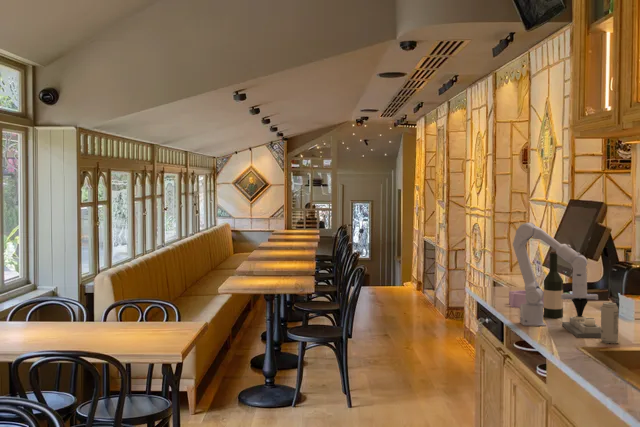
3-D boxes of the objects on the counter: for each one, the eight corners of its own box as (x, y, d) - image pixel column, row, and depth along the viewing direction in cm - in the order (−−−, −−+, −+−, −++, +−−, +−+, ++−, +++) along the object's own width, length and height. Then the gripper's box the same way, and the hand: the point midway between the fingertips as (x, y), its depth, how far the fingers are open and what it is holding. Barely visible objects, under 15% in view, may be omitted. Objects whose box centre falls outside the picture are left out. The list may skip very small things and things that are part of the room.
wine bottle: (564, 318, 301) (564, 252, 299) (545, 318, 302) (545, 252, 301) (561, 315, 309) (561, 250, 307) (542, 314, 310) (542, 250, 309)
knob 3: (586, 326, 266) (586, 319, 266) (583, 323, 270) (583, 317, 270) (596, 326, 266) (596, 319, 266) (593, 323, 270) (593, 317, 270)
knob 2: (581, 328, 273) (581, 321, 273) (578, 326, 277) (578, 319, 277) (591, 328, 273) (591, 321, 273) (588, 326, 277) (588, 319, 277)
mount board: (577, 337, 265) (577, 327, 265) (562, 325, 287) (562, 316, 286) (608, 337, 264) (608, 327, 264) (591, 325, 286) (591, 316, 285)
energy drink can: (603, 339, 261) (603, 301, 260) (620, 341, 257) (620, 303, 257) (598, 342, 256) (599, 303, 256) (615, 344, 253) (615, 305, 252)
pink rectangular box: (549, 304, 336) (549, 290, 336) (553, 309, 324) (553, 294, 324) (508, 303, 340) (508, 290, 339) (511, 308, 327) (511, 294, 327)
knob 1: (576, 323, 280) (576, 317, 280) (573, 321, 284) (573, 315, 284) (585, 323, 280) (585, 317, 280) (583, 321, 284) (583, 315, 284)
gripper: (564, 285, 278) (564, 318, 279) (600, 285, 277) (600, 318, 277) (560, 283, 285) (560, 314, 286) (595, 283, 284) (595, 314, 284)
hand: (579, 316), depth 282 cm, fingers closed, pressing on knob 1
